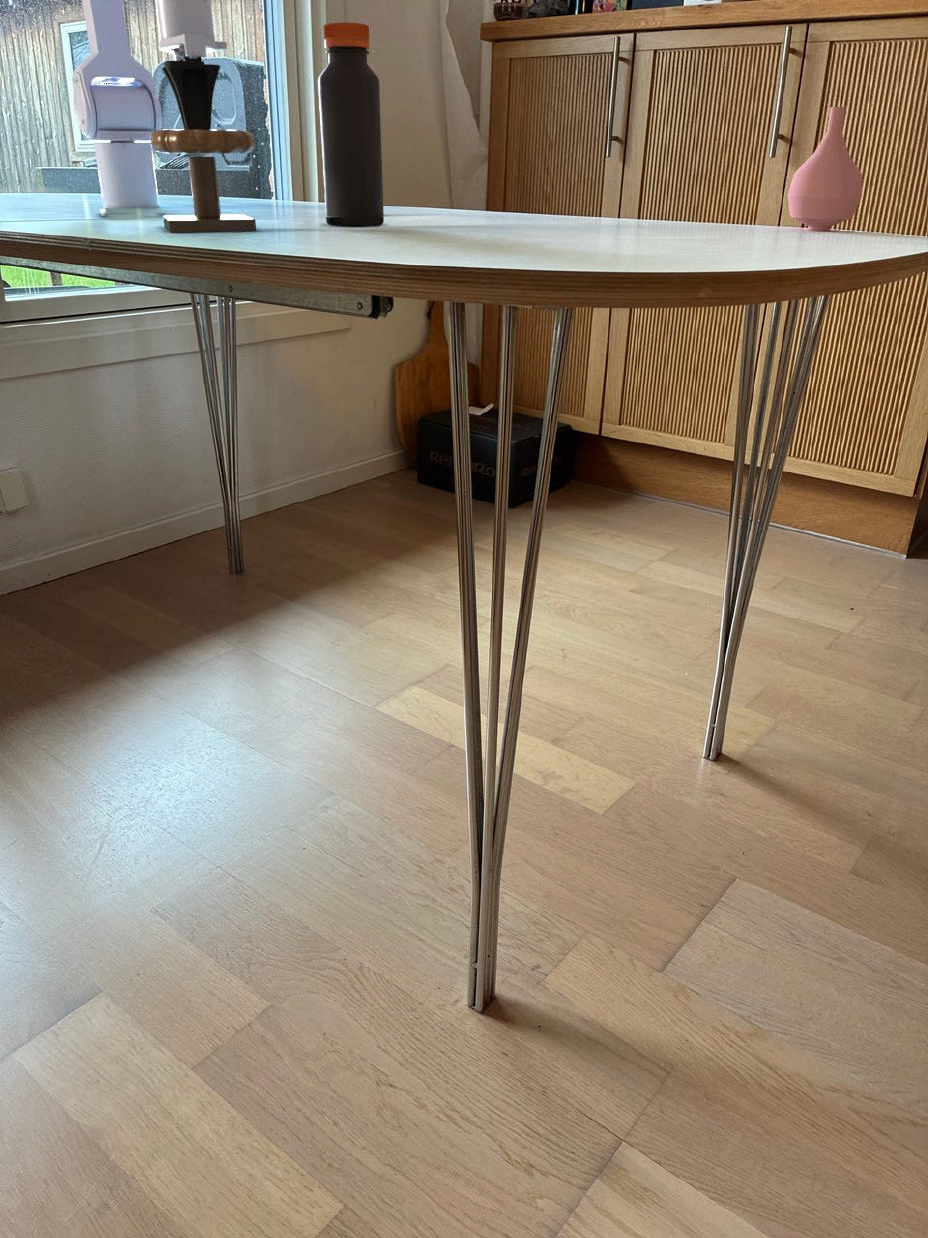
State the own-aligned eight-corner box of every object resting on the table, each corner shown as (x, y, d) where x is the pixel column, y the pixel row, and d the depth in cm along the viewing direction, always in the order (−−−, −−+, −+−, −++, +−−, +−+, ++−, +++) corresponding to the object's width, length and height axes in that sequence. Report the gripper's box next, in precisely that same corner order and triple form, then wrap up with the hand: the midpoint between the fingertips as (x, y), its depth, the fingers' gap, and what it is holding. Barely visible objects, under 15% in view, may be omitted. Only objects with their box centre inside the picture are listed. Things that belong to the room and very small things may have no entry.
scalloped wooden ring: (149, 151, 104) (146, 129, 103) (248, 152, 107) (246, 130, 106) (154, 153, 95) (151, 128, 94) (261, 153, 98) (259, 129, 97)
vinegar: (323, 223, 113) (311, 27, 104) (379, 222, 114) (372, 29, 105) (329, 227, 107) (318, 19, 98) (388, 226, 108) (382, 22, 100)
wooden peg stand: (164, 227, 106) (155, 156, 103) (245, 225, 109) (238, 156, 106) (170, 232, 99) (160, 156, 95) (256, 230, 101) (249, 156, 98)
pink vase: (827, 226, 109) (846, 109, 103) (870, 231, 102) (893, 105, 97) (769, 228, 107) (785, 108, 101) (809, 232, 100) (829, 104, 95)
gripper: (229, -17, 93) (243, 136, 99) (213, 3, 105) (227, 139, 111) (156, -22, 91) (174, 136, 97) (148, 0, 103) (165, 138, 109)
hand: (198, 138), depth 104 cm, fingers closed on scalloped wooden ring, 2 cm apart
